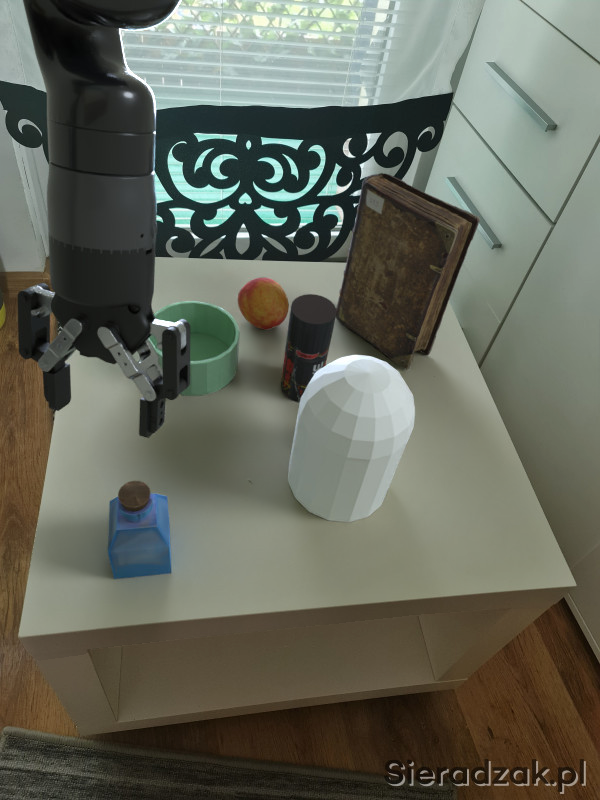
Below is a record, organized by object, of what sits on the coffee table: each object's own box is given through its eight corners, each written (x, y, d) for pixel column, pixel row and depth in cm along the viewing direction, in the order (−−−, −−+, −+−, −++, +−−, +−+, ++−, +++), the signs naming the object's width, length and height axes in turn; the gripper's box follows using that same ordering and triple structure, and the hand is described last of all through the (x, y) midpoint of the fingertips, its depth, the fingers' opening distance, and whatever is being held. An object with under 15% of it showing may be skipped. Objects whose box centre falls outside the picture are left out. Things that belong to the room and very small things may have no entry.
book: (329, 315, 102) (357, 175, 84) (358, 299, 106) (391, 162, 87) (403, 374, 95) (452, 235, 76) (432, 355, 99) (485, 218, 80)
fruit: (278, 302, 103) (283, 263, 97) (292, 335, 98) (298, 295, 92) (232, 308, 100) (234, 268, 95) (245, 341, 96) (247, 301, 90)
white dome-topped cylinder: (409, 496, 80) (455, 393, 65) (324, 540, 74) (354, 438, 59) (349, 424, 87) (379, 317, 72) (268, 460, 81) (282, 350, 66)
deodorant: (295, 366, 93) (308, 288, 82) (327, 386, 91) (345, 308, 80) (272, 388, 90) (281, 309, 79) (304, 408, 88) (319, 330, 77)
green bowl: (170, 407, 85) (168, 375, 80) (134, 348, 92) (130, 315, 87) (252, 378, 91) (255, 346, 86) (213, 324, 97) (213, 292, 93)
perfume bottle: (169, 524, 73) (164, 466, 64) (171, 573, 69) (166, 517, 60) (115, 529, 72) (103, 470, 63) (114, 579, 68) (100, 523, 59)
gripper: (-18, 219, 43) (2, 417, 51) (168, 263, 40) (158, 465, 48) (50, 203, 49) (58, 381, 57) (213, 240, 47) (199, 421, 55)
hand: (104, 419), depth 53 cm, fingers open, 8 cm apart
